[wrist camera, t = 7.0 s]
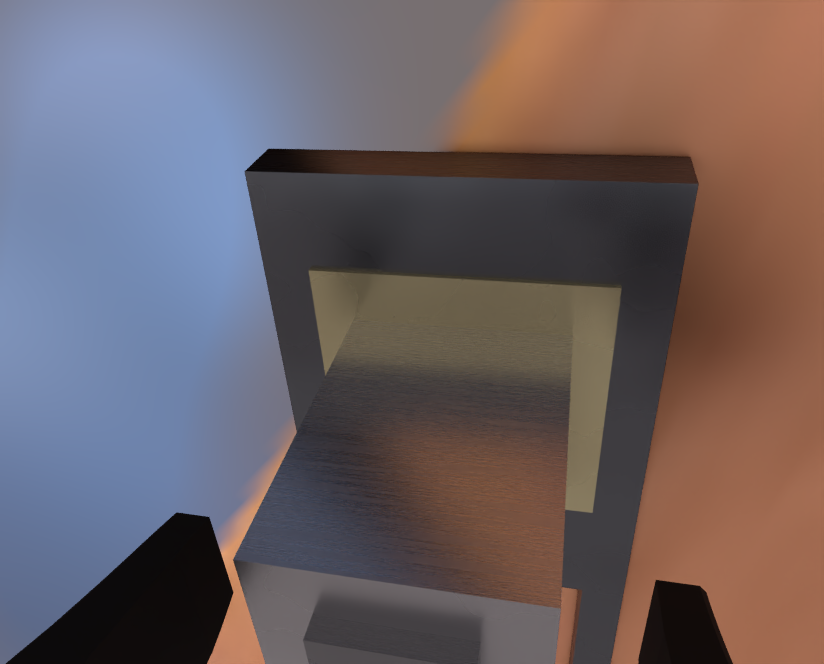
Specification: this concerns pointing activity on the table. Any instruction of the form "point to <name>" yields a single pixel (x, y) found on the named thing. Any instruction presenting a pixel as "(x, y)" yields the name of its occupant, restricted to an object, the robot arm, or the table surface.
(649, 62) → the table surface
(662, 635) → the robot arm
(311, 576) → the grey upright block
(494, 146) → the table surface
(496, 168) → the rail plate
